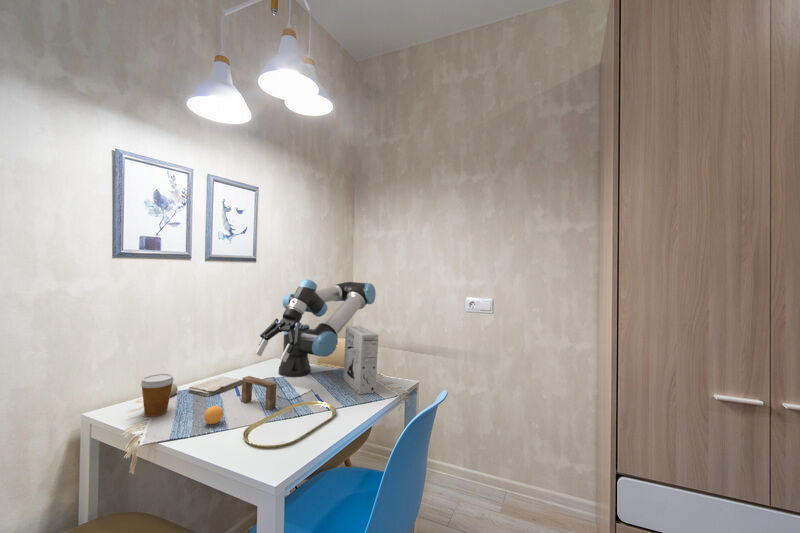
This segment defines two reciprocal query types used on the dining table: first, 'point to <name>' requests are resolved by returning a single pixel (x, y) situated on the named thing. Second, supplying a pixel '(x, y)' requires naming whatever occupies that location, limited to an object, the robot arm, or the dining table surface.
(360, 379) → the cereal box
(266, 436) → the dining table surface
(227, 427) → the dining table surface
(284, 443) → the oval ring
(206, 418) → the ball
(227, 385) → the washcloth
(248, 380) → the bridge
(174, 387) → the sea urchin shell
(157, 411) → the disposable coffee cup
